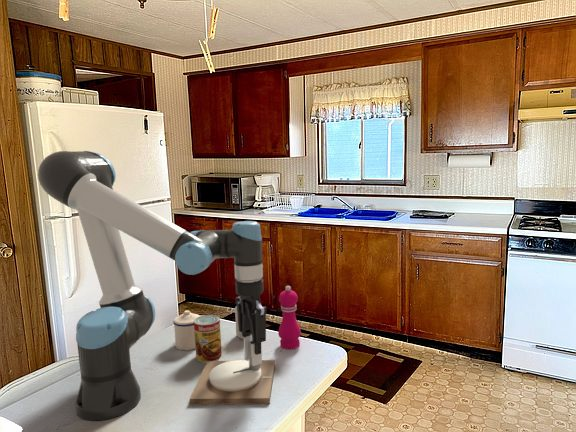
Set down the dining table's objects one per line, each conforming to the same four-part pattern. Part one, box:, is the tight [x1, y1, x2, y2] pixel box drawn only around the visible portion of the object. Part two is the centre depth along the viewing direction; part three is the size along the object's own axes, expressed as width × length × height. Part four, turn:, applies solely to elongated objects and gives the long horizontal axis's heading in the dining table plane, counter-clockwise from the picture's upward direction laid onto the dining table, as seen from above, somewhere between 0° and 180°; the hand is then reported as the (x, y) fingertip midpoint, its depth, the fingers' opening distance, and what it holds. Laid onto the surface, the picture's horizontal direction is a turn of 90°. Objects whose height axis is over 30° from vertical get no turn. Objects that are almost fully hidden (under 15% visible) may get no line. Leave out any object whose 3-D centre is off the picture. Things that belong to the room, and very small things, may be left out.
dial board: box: [189, 359, 276, 406], centre depth 116 cm, size 20×20×2 cm
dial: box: [209, 338, 261, 392], centre depth 115 cm, size 14×14×10 cm
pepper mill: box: [278, 285, 302, 350], centre depth 137 cm, size 7×7×20 cm
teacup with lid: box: [172, 310, 201, 351], centre depth 142 cm, size 12×9×12 cm
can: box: [234, 305, 255, 340], centre depth 146 cm, size 8×8×12 cm
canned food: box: [194, 314, 223, 363], centre depth 132 cm, size 8×8×12 cm
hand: (253, 361), depth 117 cm, fingers open, 3 cm apart
